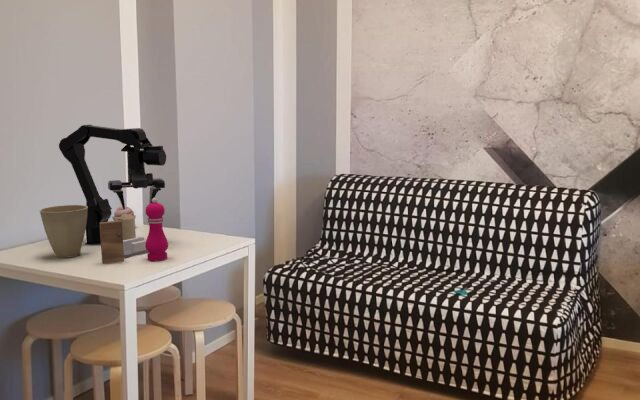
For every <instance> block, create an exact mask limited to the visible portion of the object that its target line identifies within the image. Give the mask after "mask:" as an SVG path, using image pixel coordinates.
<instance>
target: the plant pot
mask: <svg viewBox="0 0 640 400" xmlns="http://www.w3.org/2000/svg"><path fill="white" fill-rule="evenodd" d="M87 211H88V207H87V206H86V205H85V204H84V205H83V204H64V205H63V204H62V205H55V206H54V205H53V206H48V207H43V208H40V210H39V213H40V214H39V215H40V217H41V221H42V225H43V229H44V232H45V234H46V238H47V239H48V242H49V244H50V247H51V249H52V251H53V253H54V255H55V257H57V258H73V257H76V256H79V255H80V253H81V249H82V247H83V242H84V239H85V236H86V222H87Z"/></svg>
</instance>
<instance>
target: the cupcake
mask: <svg viewBox="0 0 640 400" xmlns="http://www.w3.org/2000/svg"><path fill="white" fill-rule="evenodd" d="M123 214H131V215H132V216H133V217H134V218H135V219H136V217H137V215H135V211H134V210H133V209H132V208H131V207H129V206H127V205H126V204H125V210H124V209H123V207H122V205H121V204H120V205H119V206H118V207H117V208H116V210H115V211H114V213H113V215H114V216H111V217H112V221H119V218H120V217H121V216H122V215H123Z"/></svg>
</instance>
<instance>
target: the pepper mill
mask: <svg viewBox="0 0 640 400" xmlns="http://www.w3.org/2000/svg"><path fill="white" fill-rule="evenodd" d="M165 210H166V209H165V207H164V205H163V204H161V203H160V202H158V198H156V197H155V198H153V199H152V203H150V204H148V205H147V206H146V207H145V211H144V212H145V216H146V217H147V223H148V228H149V229H148V234H147V238H146V239H145V240H146V244H145V248H146V250H147V251H148V252H149V253H146V254H147V260H148V261H152V262H161V261H166V260H167V259H168V253H167V250H168V248H169V242H168V238H167V236H166V234H165V232H164V229H163V223H164V217H163V216H164V215H165Z"/></svg>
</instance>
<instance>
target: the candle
mask: <svg viewBox="0 0 640 400" xmlns="http://www.w3.org/2000/svg"><path fill="white" fill-rule="evenodd" d="M135 219H136V217H135V218H134V217H133V216H132V215H131V214H123V215H122V216H121V217H120V218H119V220H121V221H122V231H123V240H128V239H133V238H137V237H136V236H137V235H136V220H135Z"/></svg>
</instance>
